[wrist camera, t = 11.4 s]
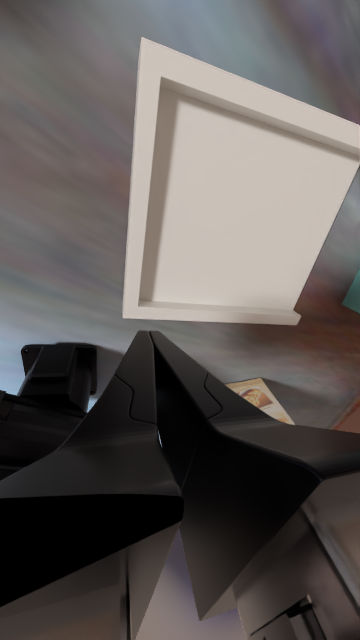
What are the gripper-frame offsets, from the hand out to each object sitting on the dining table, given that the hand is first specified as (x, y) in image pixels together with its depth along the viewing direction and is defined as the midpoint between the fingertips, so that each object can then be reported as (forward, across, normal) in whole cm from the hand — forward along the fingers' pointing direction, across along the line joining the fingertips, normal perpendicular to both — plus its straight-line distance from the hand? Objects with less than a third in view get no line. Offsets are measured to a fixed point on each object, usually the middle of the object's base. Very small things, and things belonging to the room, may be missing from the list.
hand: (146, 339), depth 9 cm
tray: (+12, -9, -4) cm, 16 cm away
